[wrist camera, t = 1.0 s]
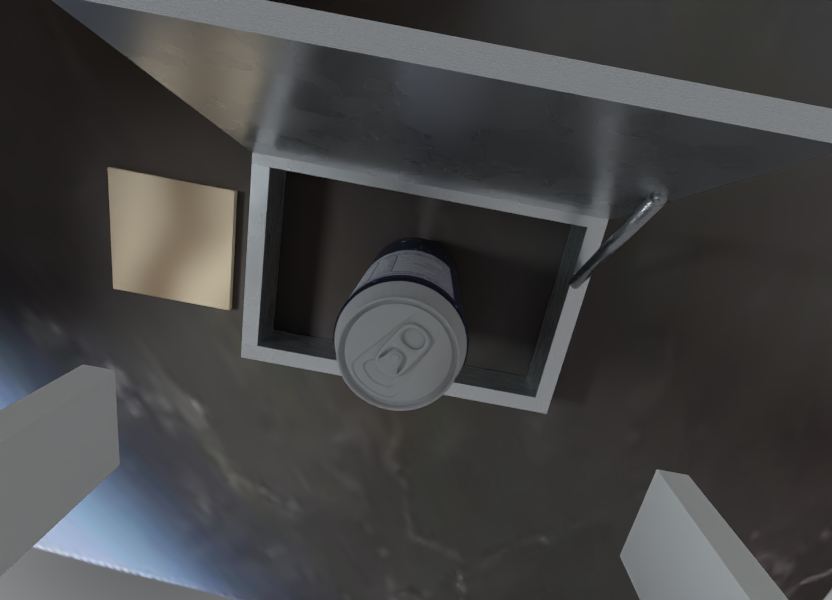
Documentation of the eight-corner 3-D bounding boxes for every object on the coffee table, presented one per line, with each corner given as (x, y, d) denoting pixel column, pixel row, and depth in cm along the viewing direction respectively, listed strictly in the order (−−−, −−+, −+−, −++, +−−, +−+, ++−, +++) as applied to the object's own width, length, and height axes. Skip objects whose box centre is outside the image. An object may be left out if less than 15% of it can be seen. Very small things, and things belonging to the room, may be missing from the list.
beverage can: (354, 281, 28) (296, 360, 17) (410, 217, 27) (389, 255, 15) (418, 334, 29) (404, 444, 18) (475, 275, 28) (501, 352, 16)
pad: (117, 286, 29) (113, 288, 29) (112, 167, 27) (107, 167, 26) (232, 308, 29) (229, 310, 29) (237, 190, 27) (234, 191, 26)
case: (258, 339, 30) (83, 510, 15) (276, 79, 25) (37, -47, 10) (537, 391, 30) (632, 610, 15) (612, 143, 25) (866, 113, 10)
